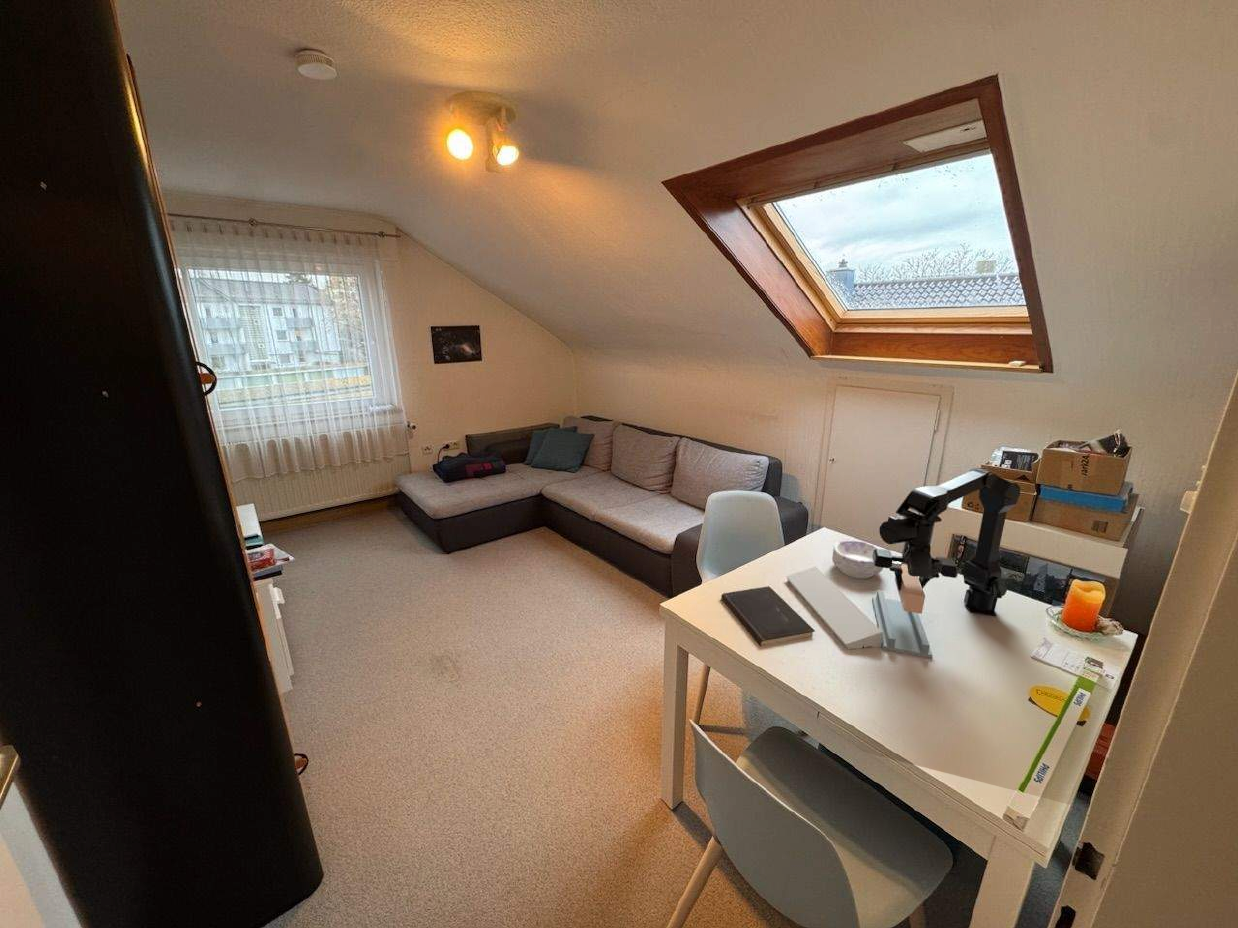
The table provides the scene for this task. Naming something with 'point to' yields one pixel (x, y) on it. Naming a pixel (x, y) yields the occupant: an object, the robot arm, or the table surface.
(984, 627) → the table surface
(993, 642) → the table surface
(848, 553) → the white purple speckled bowl
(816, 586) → the light grey long wedge
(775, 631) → the hardcover book
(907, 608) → the clay strip
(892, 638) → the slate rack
